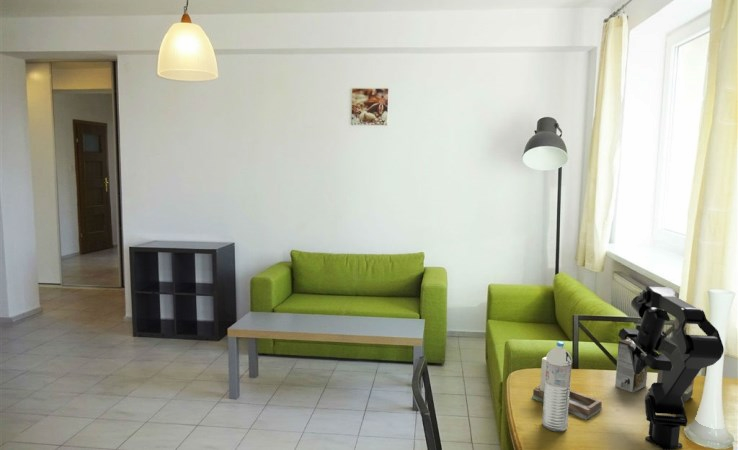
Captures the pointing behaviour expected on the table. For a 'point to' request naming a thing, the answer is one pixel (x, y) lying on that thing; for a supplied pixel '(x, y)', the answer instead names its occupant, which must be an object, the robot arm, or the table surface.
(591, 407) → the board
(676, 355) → the liquor
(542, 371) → the white juice carton
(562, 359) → the water bottle
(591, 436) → the table surface
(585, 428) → the table surface
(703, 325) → the robot arm
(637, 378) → the coffee box
